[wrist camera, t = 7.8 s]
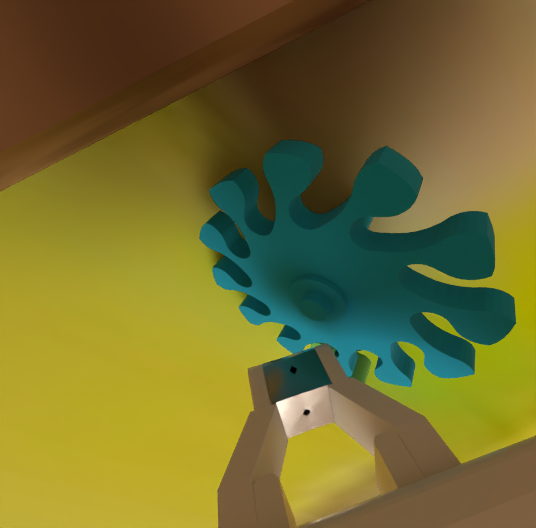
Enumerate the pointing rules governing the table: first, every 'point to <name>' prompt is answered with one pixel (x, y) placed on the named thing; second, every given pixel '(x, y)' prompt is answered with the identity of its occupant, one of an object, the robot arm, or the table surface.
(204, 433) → the table surface
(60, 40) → the stop bar
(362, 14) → the table surface
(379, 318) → the gear
